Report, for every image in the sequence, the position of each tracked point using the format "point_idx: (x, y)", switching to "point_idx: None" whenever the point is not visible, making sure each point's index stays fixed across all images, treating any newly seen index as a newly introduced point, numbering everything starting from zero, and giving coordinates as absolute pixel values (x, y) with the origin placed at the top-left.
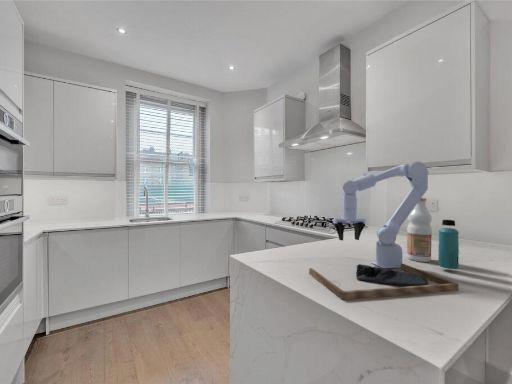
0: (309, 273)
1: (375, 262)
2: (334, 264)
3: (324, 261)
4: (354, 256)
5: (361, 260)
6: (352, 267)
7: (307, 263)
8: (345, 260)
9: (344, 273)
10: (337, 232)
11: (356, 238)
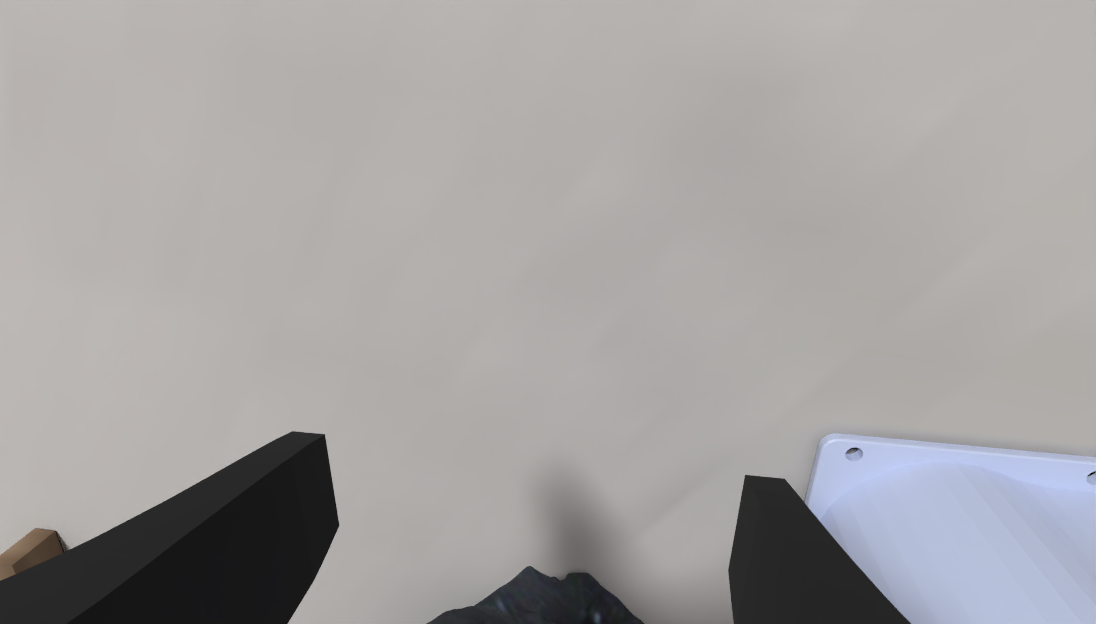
0: (32, 536)
1: (859, 475)
2: (337, 364)
3: (259, 228)
4: (892, 46)
5: (803, 293)
6: (482, 492)
7: (42, 263)
8: (566, 244)
9: (320, 591)
10: (110, 532)
11: (740, 558)
